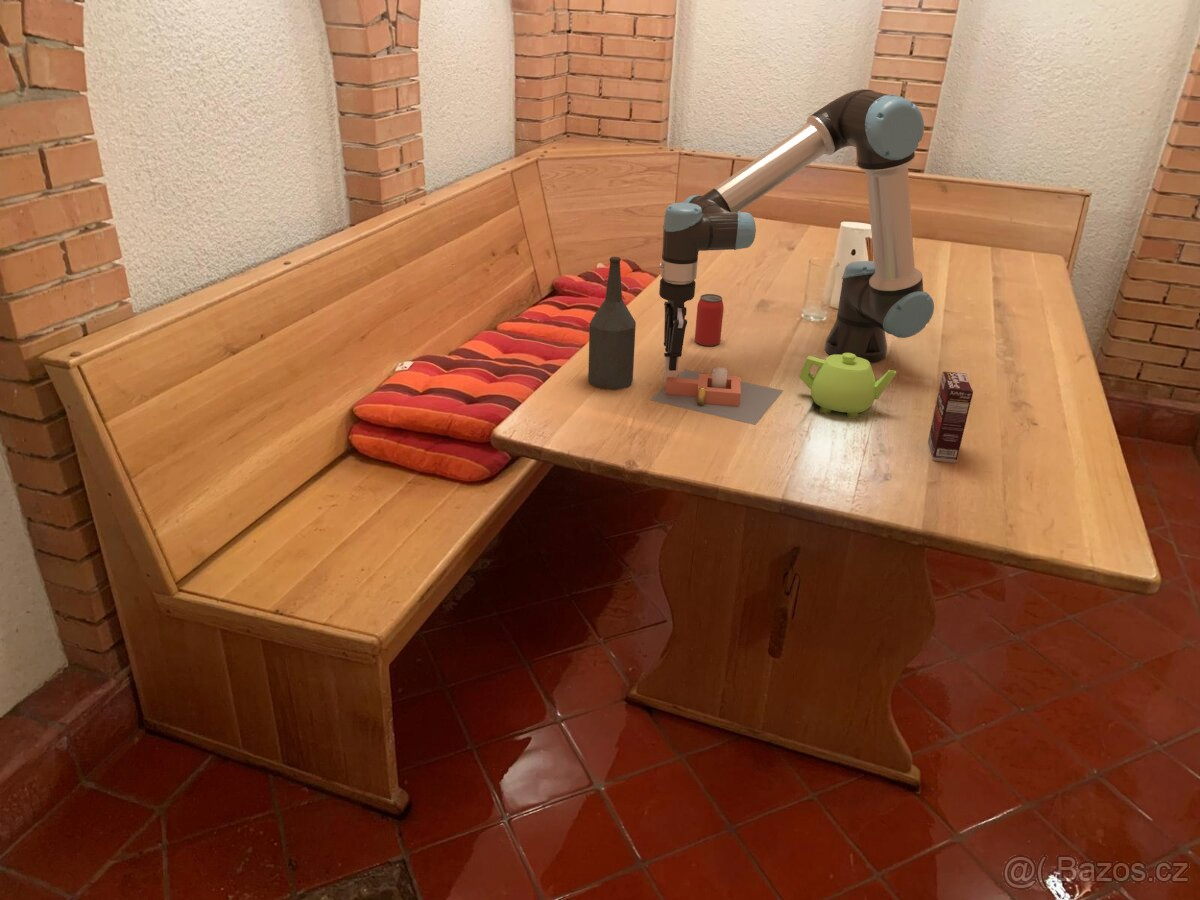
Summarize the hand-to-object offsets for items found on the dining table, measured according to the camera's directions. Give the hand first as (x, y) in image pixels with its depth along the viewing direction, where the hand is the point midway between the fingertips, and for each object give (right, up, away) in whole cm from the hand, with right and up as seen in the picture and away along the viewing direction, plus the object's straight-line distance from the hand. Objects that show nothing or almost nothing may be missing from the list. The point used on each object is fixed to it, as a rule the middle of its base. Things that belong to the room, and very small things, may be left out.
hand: (670, 381), depth 203 cm
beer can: (+12, +12, +31) cm, 35 cm away
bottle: (-13, -1, +4) cm, 14 cm away
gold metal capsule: (+6, -6, -7) cm, 11 cm away
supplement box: (+53, -16, -20) cm, 59 cm away
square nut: (+7, -3, -2) cm, 8 cm away
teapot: (+38, -6, -2) cm, 38 cm away
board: (+10, -4, -1) cm, 11 cm away
